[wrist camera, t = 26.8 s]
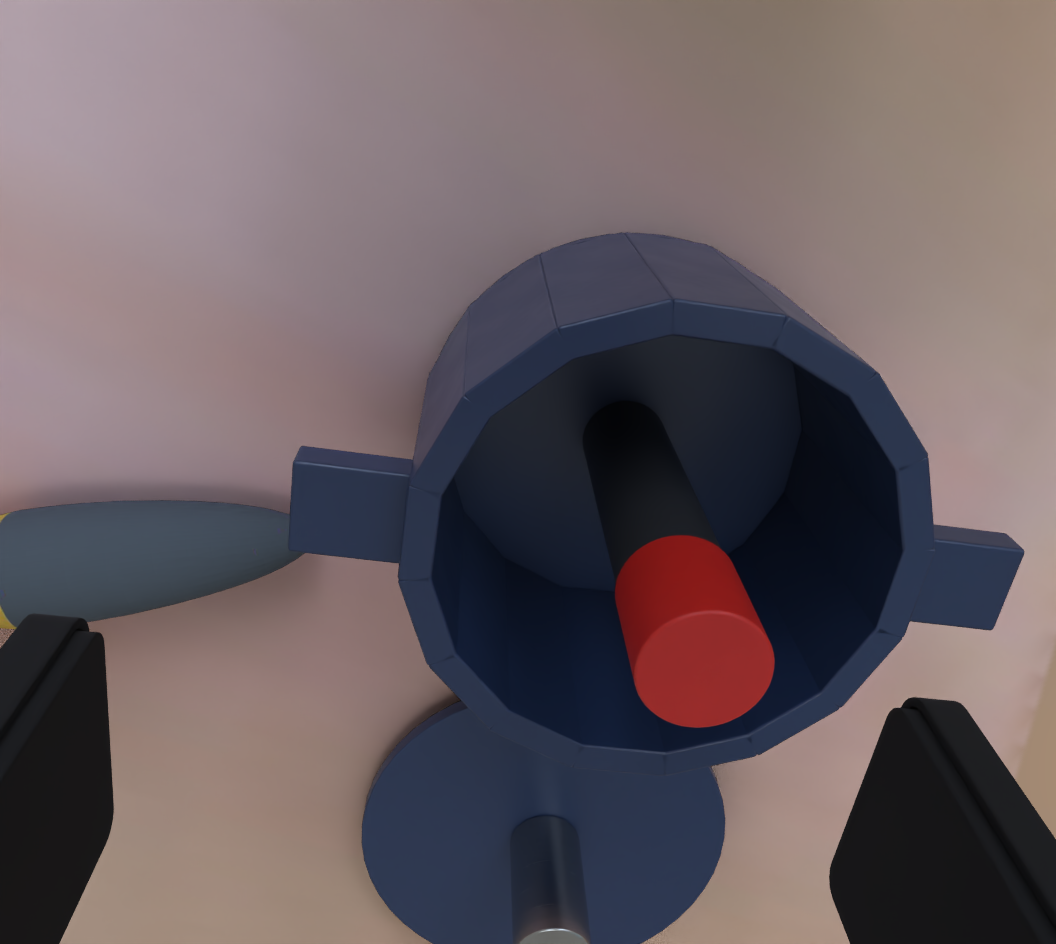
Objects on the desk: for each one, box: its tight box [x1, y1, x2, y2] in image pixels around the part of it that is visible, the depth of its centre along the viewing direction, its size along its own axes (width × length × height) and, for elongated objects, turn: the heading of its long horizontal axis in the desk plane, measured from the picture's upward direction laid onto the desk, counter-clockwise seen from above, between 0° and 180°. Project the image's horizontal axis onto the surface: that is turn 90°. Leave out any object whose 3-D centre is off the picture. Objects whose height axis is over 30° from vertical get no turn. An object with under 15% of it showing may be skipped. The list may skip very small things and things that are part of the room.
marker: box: [583, 401, 775, 728], centre depth 24 cm, size 3×3×12 cm
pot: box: [288, 232, 1024, 776], centre depth 26 cm, size 13×18×8 cm
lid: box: [362, 701, 725, 944], centre depth 34 cm, size 14×14×6 cm
